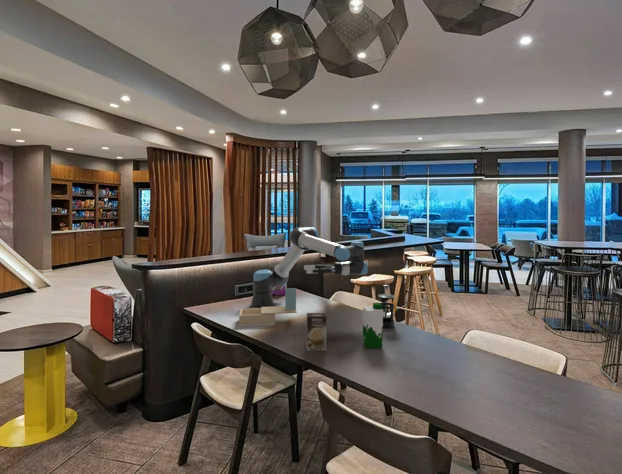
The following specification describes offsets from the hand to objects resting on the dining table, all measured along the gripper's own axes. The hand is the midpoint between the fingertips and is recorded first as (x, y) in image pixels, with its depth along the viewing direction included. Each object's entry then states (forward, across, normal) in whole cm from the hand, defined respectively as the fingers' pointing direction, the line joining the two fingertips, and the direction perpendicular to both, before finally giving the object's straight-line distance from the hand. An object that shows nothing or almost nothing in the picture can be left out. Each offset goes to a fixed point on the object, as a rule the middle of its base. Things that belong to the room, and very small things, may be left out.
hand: (305, 269), depth 212 cm
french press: (-43, -16, -30) cm, 55 cm away
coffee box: (0, -46, -30) cm, 55 cm away
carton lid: (+16, 0, -24) cm, 28 cm away
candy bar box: (+13, +68, -30) cm, 76 cm away
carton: (+28, 0, -30) cm, 41 cm away
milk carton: (-27, -45, -30) cm, 61 cm away
